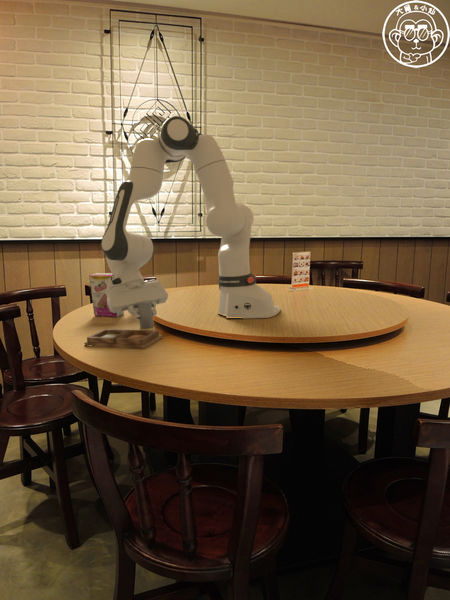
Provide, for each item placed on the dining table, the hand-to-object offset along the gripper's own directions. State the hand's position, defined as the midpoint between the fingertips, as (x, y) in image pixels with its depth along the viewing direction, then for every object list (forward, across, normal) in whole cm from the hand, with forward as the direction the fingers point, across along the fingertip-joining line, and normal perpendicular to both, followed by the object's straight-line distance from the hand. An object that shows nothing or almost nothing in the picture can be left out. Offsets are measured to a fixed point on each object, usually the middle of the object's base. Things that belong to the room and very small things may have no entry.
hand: (146, 316), depth 150 cm
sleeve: (+3, 0, -4) cm, 5 cm away
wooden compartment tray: (+7, +10, -1) cm, 12 cm away
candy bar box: (-20, 0, -28) cm, 35 cm away
